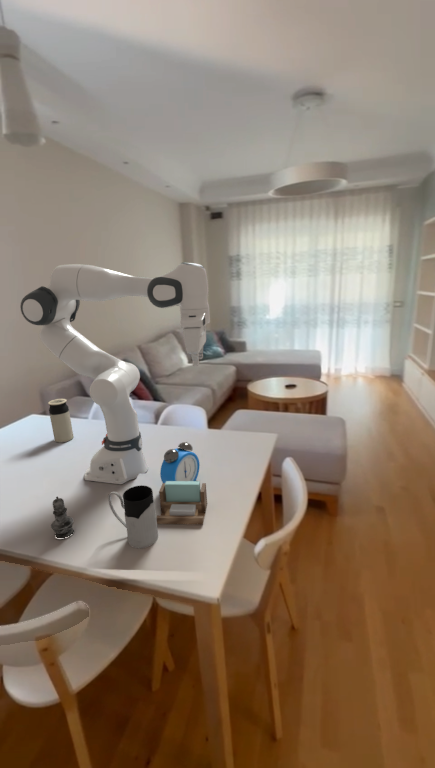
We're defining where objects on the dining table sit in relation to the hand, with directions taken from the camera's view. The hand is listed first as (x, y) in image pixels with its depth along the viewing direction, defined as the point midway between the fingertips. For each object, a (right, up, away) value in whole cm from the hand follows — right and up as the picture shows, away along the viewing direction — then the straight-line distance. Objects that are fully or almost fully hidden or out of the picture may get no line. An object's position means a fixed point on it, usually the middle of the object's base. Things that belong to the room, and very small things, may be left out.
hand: (198, 362), depth 119 cm
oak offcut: (-4, -45, -11) cm, 47 cm away
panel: (-4, -44, -7) cm, 44 cm away
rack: (-4, -46, -9) cm, 47 cm away
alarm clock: (-6, -42, +7) cm, 43 cm away
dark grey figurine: (-37, -49, -13) cm, 63 cm away
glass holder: (-16, -49, -17) cm, 54 cm away
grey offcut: (-4, -43, -12) cm, 45 cm away
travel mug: (-63, -32, +51) cm, 87 cm away
